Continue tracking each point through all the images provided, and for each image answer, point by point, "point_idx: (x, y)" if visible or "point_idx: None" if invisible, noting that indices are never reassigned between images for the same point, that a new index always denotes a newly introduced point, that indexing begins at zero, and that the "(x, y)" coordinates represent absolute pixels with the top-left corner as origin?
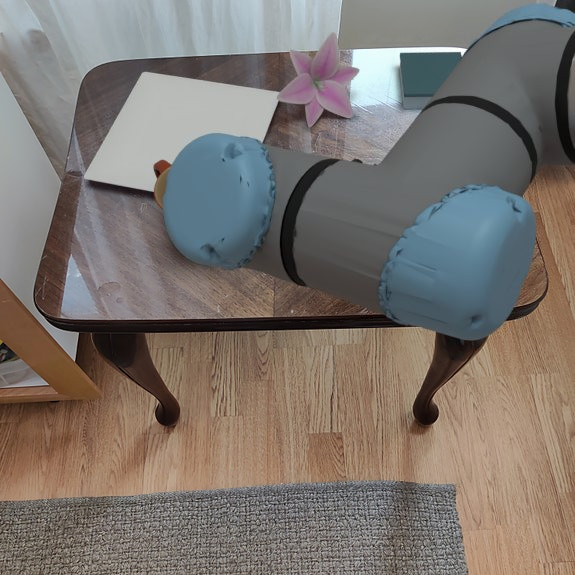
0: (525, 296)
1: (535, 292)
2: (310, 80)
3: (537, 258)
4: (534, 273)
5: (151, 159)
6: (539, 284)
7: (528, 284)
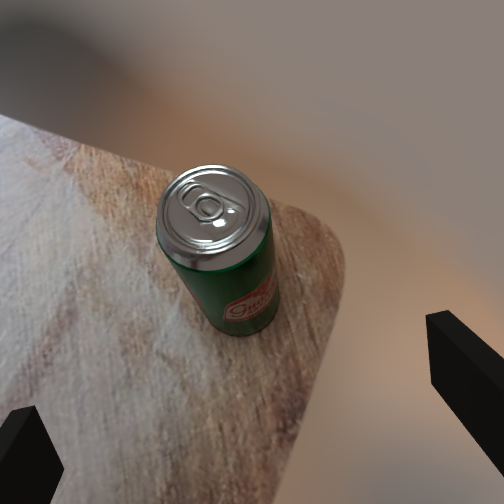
0: (335, 256)
1: (334, 237)
2: None
3: (276, 201)
4: (300, 219)
5: None
6: (322, 224)
7: (315, 239)
